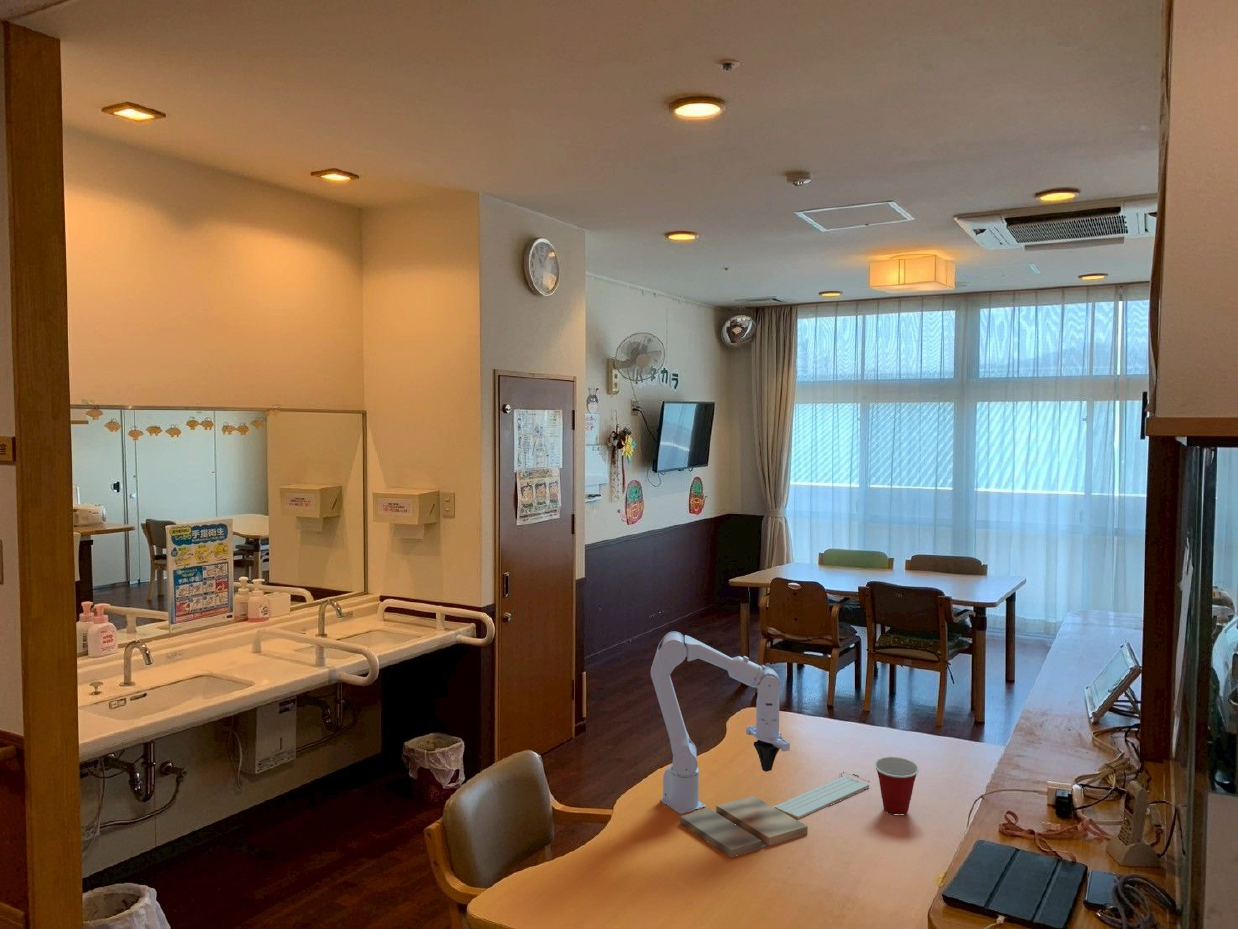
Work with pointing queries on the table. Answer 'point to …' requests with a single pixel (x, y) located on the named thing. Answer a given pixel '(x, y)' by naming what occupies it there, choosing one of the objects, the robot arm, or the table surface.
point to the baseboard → (822, 797)
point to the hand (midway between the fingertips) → (766, 770)
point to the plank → (762, 820)
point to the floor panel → (721, 832)
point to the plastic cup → (896, 783)
